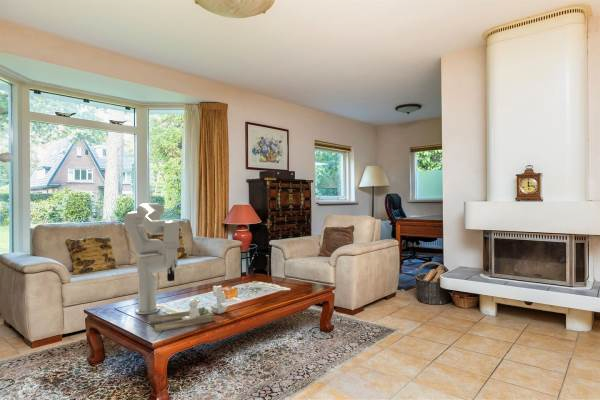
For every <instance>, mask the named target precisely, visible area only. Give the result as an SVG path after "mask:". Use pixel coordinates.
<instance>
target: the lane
mask: <svg viewBox="0 0 600 400" xmlns="http://www.w3.org/2000/svg"><path fill="white" fill-rule="evenodd" d="M197 308H198V310H199V314H200V316H196V318H191V319H186V320H182V318H183V317H185V316H188V317H189V315H190V314H189V311H190V309H188V310H185V311H180V312H175V313H174V312H173V313H168V314H162V315H156V316H150V317H148V324H149V325H151V324H150V323H155V322H160V321H162V322H163V324H158V325H155V330H154V333H157V332H161V331H166V330H172V329H177V328H183V327H189V326H194V325H199V324H204V323H209V322H213V321H214V312H213V311H211V310H210V309H209V308H207V307H206V306H202V307H197ZM177 319H181V320H177ZM174 320H176V321H174ZM167 321H168V322H167ZM169 321H170V322H169Z"/></svg>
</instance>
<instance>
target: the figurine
mask: <svg viewBox="0 0 600 400" xmlns="http://www.w3.org/2000/svg"><path fill="white" fill-rule="evenodd" d="M222 287H223V285H221V284H220V285H213V286H212V295H213V296H214V297H215V298H216V303H215V304H212V305H210V306H209V307H210V309H211V310H212V313H213V314H218V315H219V314H223V313H225V312H226V311H227V309H228V306H229V305H228V304H225V303H226V300H227V299H226V293H225V292H222V291H223V288H222Z"/></svg>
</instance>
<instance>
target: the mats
mask: <svg viewBox="0 0 600 400" xmlns="http://www.w3.org/2000/svg"><path fill="white" fill-rule="evenodd" d="M163 323H164V321H160V322H155V323H150V324H149V325H150V326H151V327H152V328H153V330H154V331H155V325H158V324H163Z"/></svg>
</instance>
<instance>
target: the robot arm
mask: <svg viewBox="0 0 600 400" xmlns="http://www.w3.org/2000/svg"><path fill="white" fill-rule="evenodd" d="M164 211H165V210H164V206H163V205H162V204H160V203H157V202H154V203H151V202H150V203H148V202H147V203H145V202H144V203H141V204H139V205H138V206H137V208H136V211H135V210H134V211H130V212H127V213H126V214H125V215H124V216H123V223H124V228H125V230H126V232H127V234H129V237H130V239H131V242H132V245H133V248H134V252H135V254H136V256H137V257H139V258H137V260H136V269H137V281H138V282H137V283H138V289H137V290H138V303H137V304H138V305H137V306H138V307H137V308H136V309H135V313H136V314H137V315H151V314H155V313H158V312H159V311H160V307H159V306H157V278H156V276H155V275H154V274H153V273H156V272H161V271H167V273H166V274H167V276H166V279H167V282H174V281H175V274H176V273H175V272H176V268H178V259H179V258H178V249H179V248H180V247H179V246H180V245H179V244H180V223H179V222H178V221H174V220H172V219H161V218H162V217H163V216H164V214H165V212H164ZM140 226H143V228H141V227H140ZM147 234H149V235H151V236H152V235H153V236H158V235H163V237H162V238H163V240H162V239H159V238H151V239H149V238H148V236H147Z"/></svg>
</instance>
